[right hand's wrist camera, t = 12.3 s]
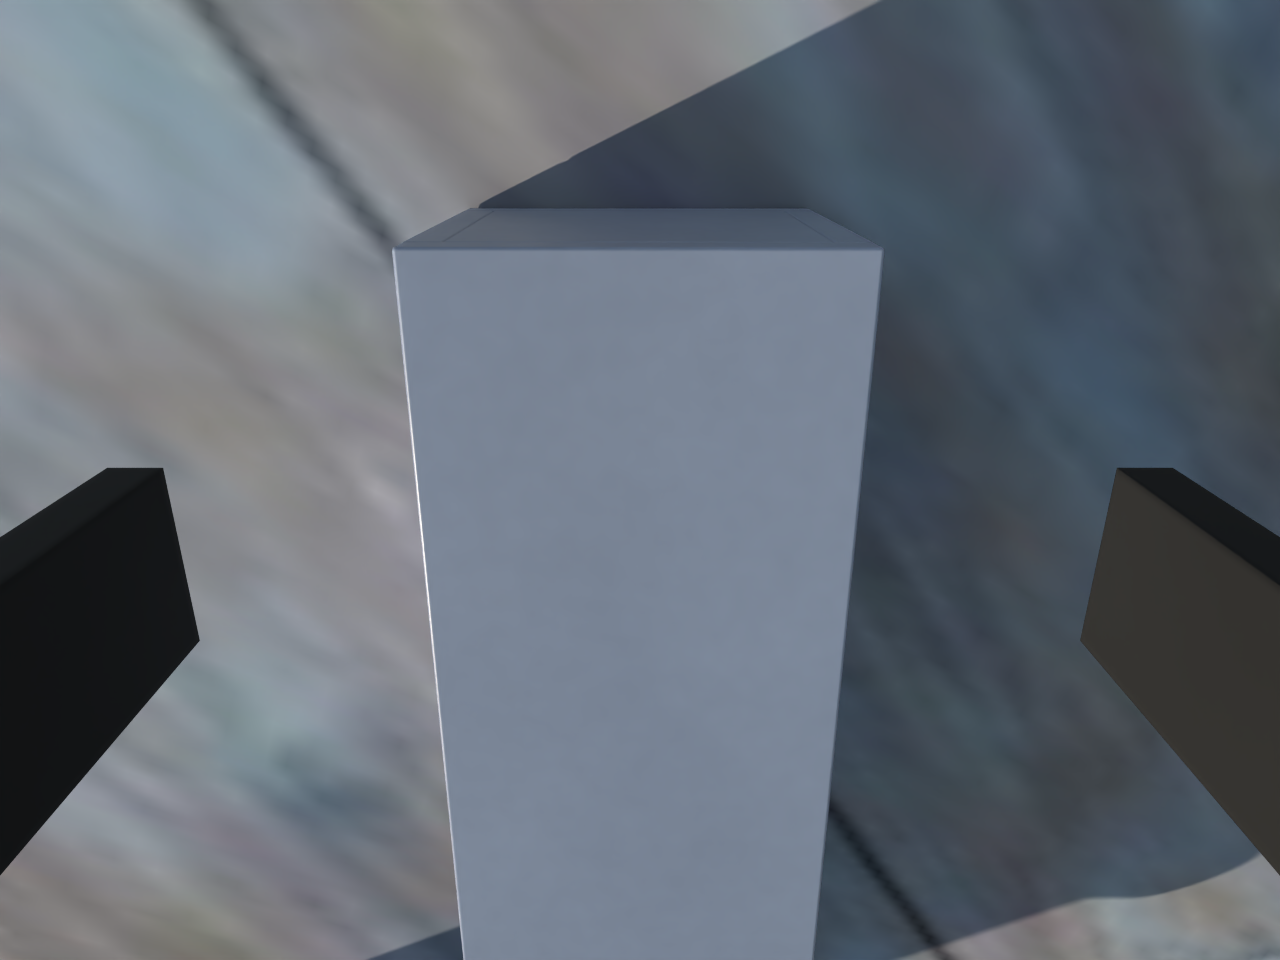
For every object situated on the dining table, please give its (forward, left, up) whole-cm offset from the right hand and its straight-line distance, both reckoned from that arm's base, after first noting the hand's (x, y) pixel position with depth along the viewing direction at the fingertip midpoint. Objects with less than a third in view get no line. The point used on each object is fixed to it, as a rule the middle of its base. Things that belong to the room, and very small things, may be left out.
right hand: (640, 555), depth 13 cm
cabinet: (+6, +3, -15) cm, 16 cm away
